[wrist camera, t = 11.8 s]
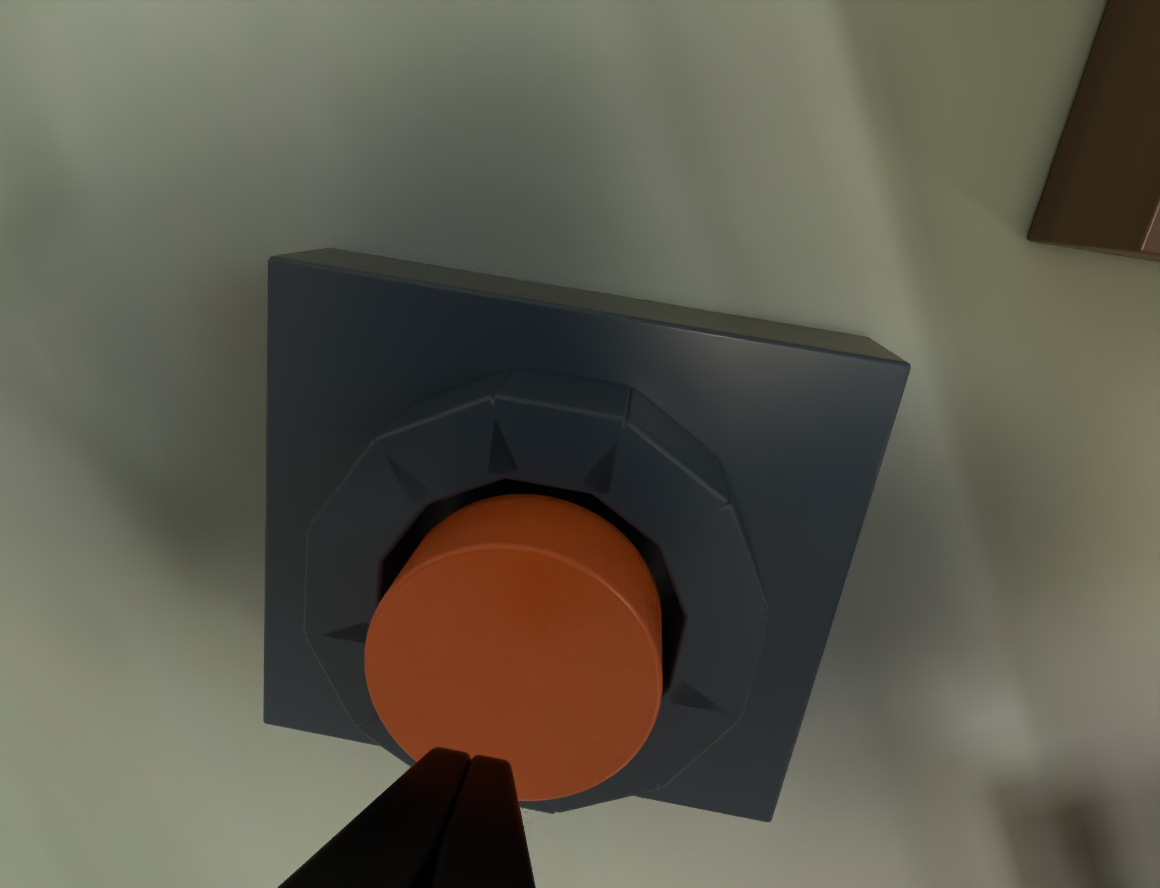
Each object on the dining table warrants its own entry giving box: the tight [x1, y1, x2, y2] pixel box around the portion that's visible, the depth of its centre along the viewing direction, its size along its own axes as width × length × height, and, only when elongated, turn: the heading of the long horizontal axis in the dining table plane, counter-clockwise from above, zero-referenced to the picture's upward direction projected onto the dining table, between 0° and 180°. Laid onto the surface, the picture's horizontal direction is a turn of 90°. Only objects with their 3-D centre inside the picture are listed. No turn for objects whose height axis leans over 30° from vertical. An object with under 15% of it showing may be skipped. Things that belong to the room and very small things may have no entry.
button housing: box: [263, 248, 911, 822], centre depth 13 cm, size 10×9×4 cm
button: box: [364, 494, 663, 801], centre depth 10 cm, size 4×4×2 cm
